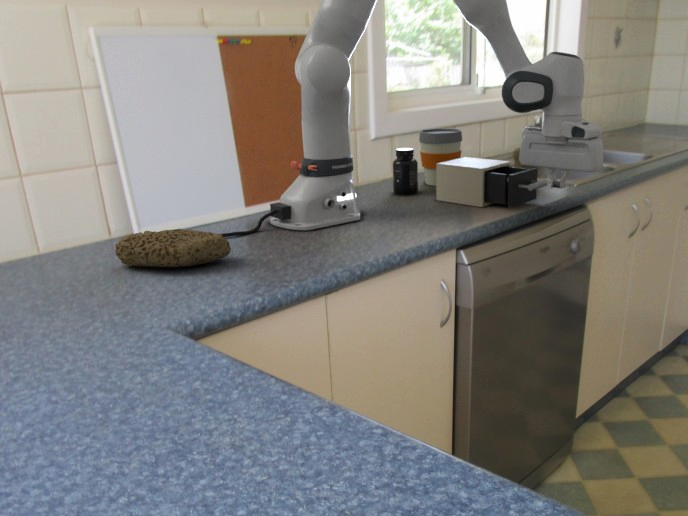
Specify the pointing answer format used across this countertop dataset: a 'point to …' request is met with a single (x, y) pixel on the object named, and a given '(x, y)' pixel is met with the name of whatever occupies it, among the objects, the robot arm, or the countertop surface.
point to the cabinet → (464, 180)
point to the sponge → (171, 248)
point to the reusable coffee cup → (438, 149)
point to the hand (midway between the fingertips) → (557, 187)
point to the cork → (516, 159)
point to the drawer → (511, 185)
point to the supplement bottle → (405, 172)
